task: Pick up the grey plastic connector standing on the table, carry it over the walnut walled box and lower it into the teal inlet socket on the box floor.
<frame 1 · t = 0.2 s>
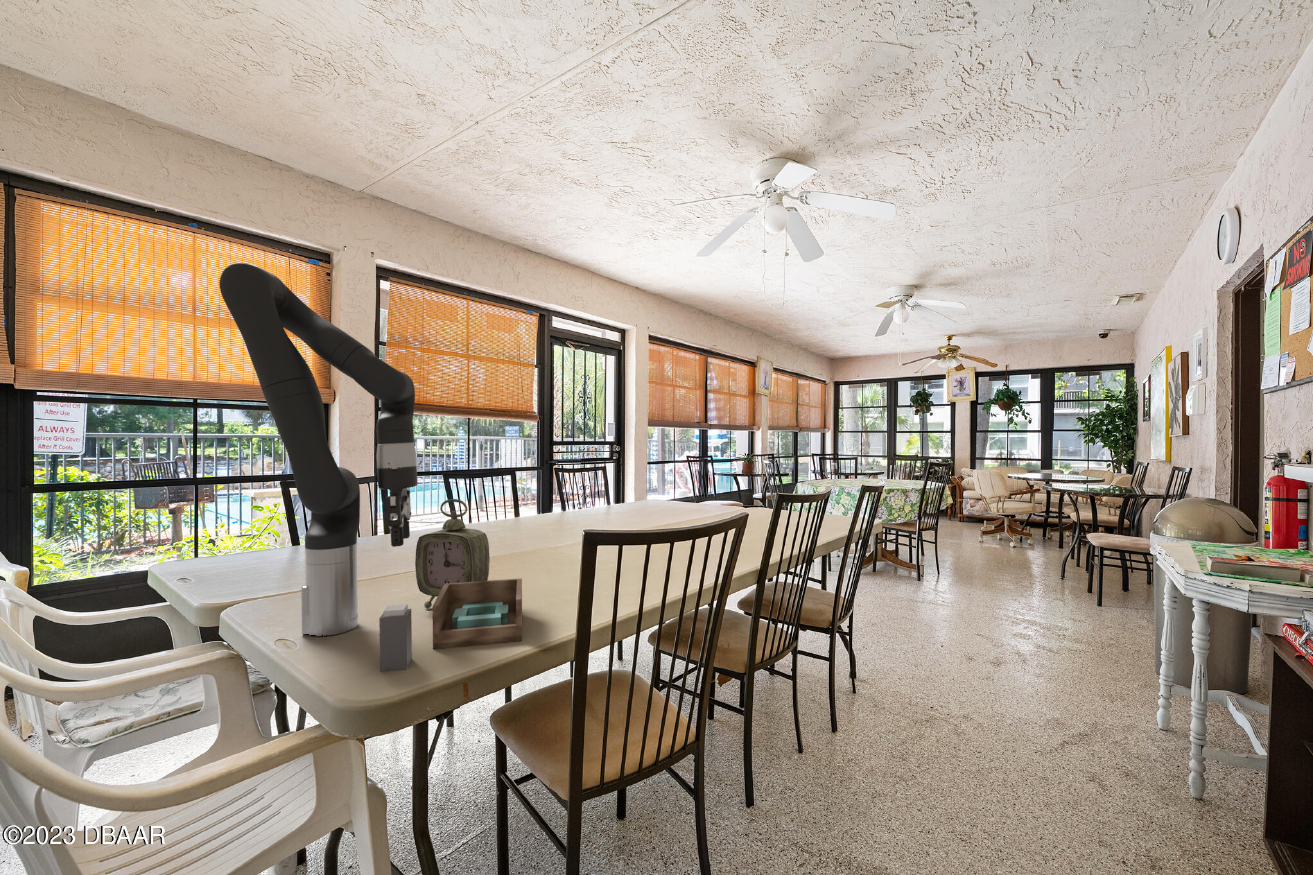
hand: (401, 542, 115), 17 cm above the table, tool pointing down, fingers open, 8 cm apart
walled box: (481, 630, 111), on the table
connector: (396, 665, 95), on the table
tabletop clock: (455, 607, 127), on the table
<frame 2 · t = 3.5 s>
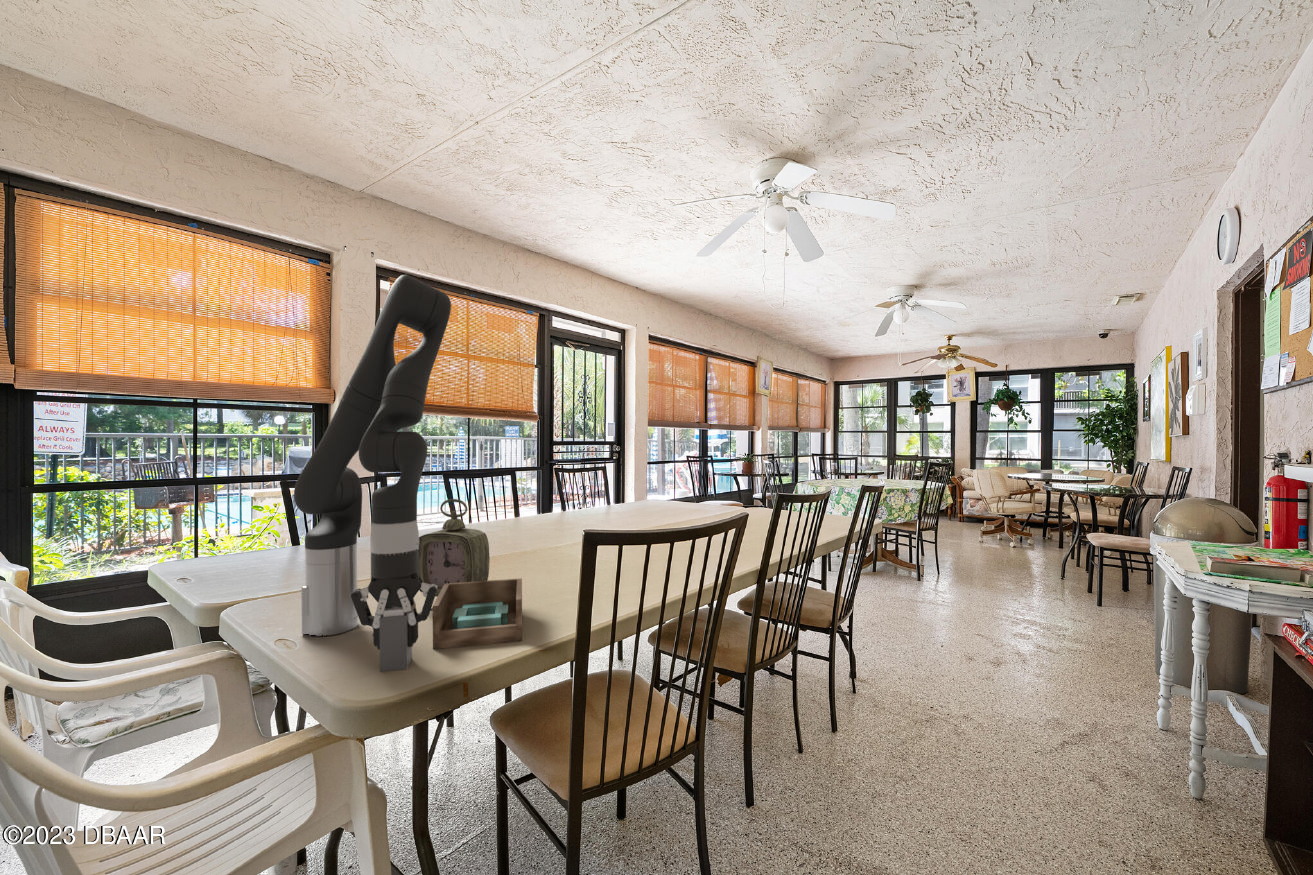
hand: (396, 646, 95), 3 cm above the table, tool pointing down, fingers closed on connector, 4 cm apart
connector: (396, 665, 95), on the table, touching gripper
everything else where it was.
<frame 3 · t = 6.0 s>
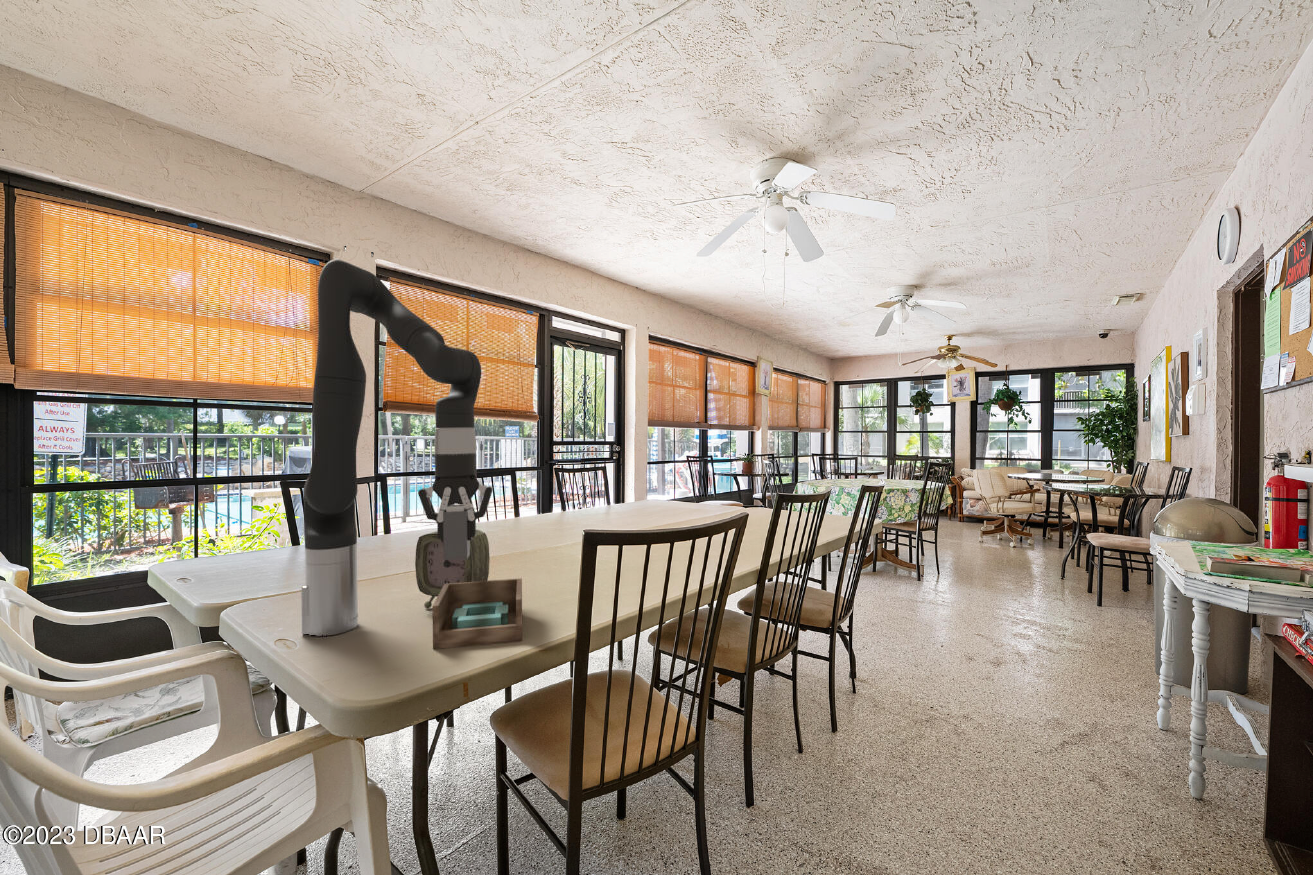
hand: (457, 539, 106), 19 cm above the table, tool pointing down, fingers closed on connector, 4 cm apart
connector: (457, 557, 106), point 16 cm above the table, touching gripper
everything else where it was.
when the fingers open (6 cm above the table, at t = 8.8 s): connector drops 1 cm, resting on walled box.
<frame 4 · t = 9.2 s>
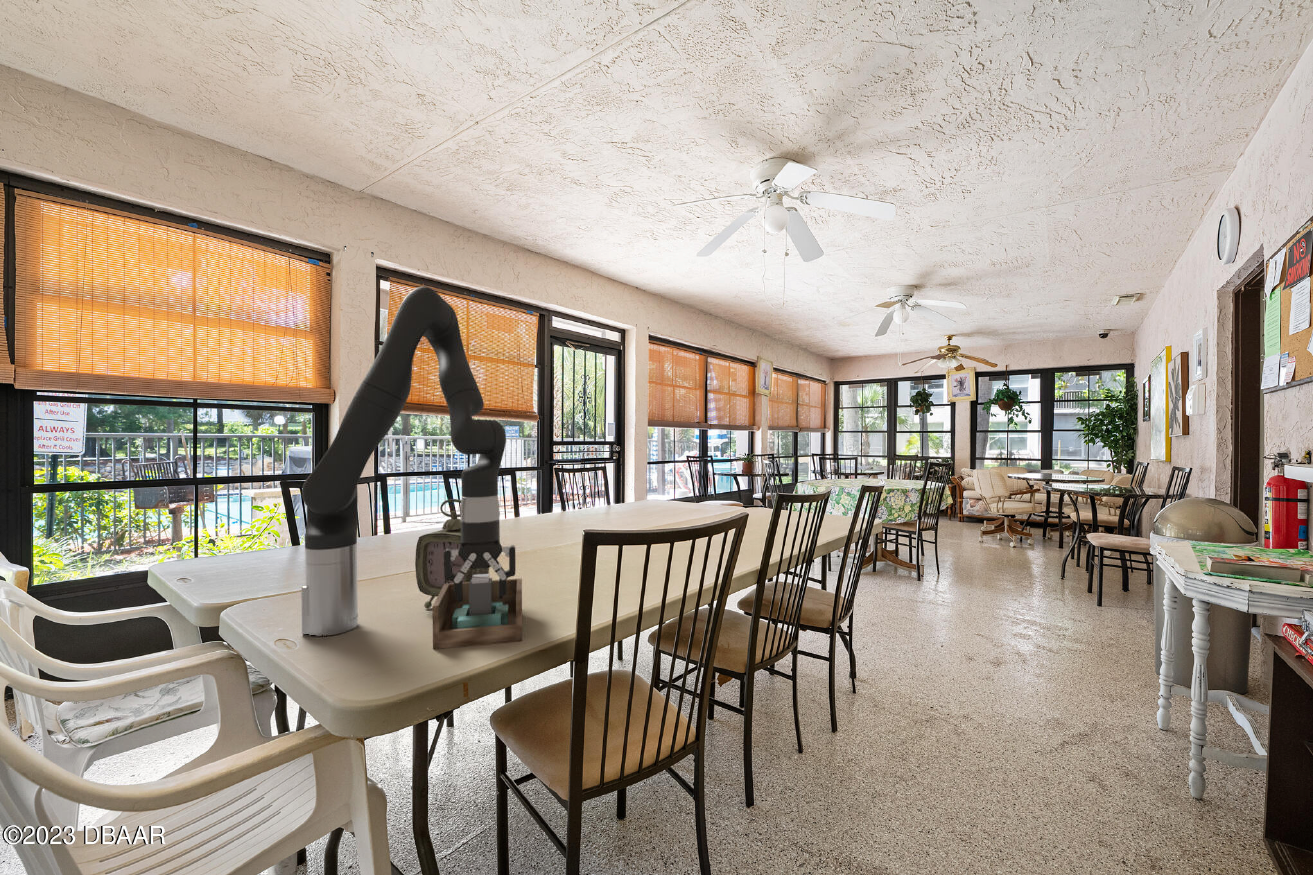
hand: (481, 598, 111), 6 cm above the table, tool pointing down, fingers open, 7 cm apart
connector: (481, 625, 111), point 1 cm above the table, touching walled box
everything else where it was.
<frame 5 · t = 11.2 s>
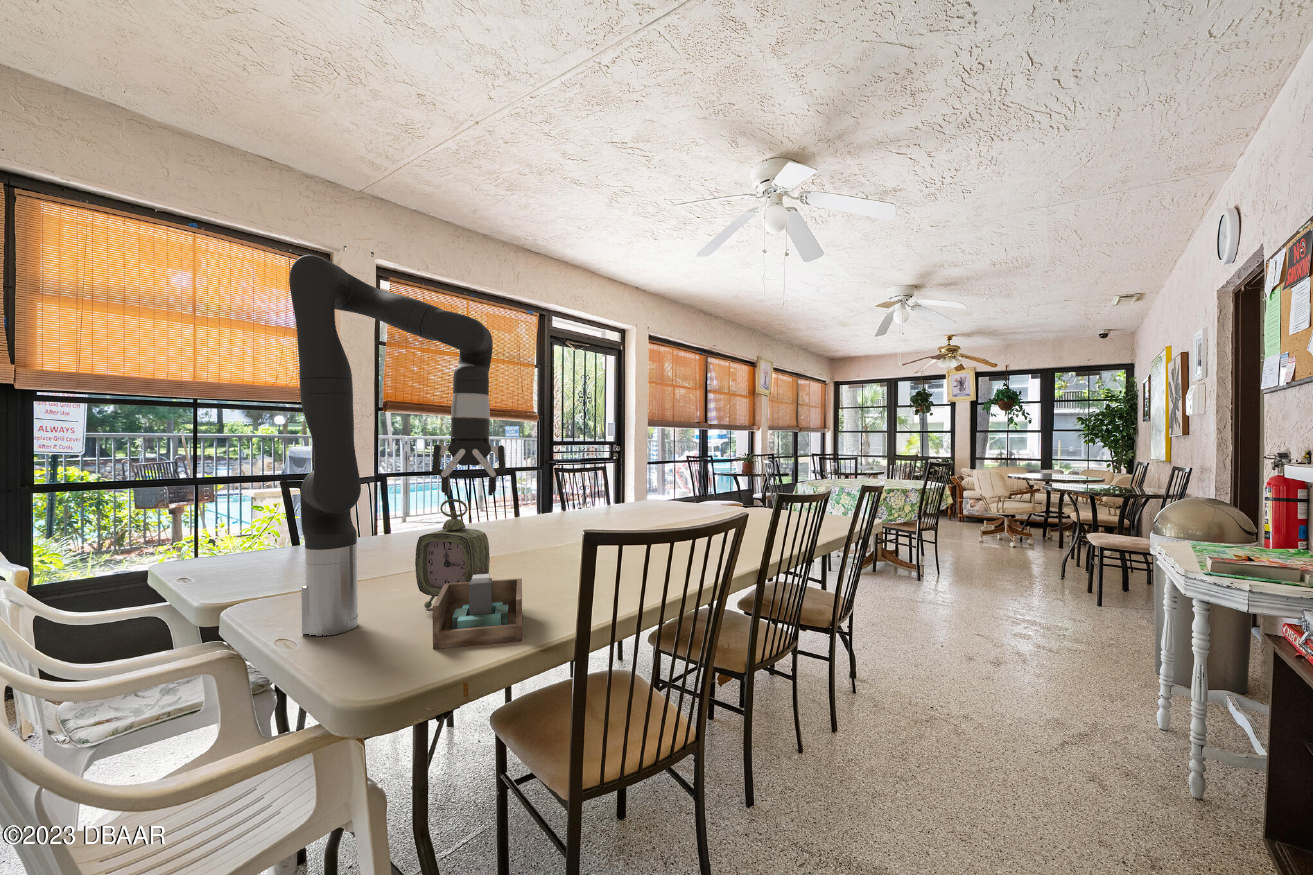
hand: (469, 495, 113), 27 cm above the table, tool pointing down, fingers open, 8 cm apart
nothing on the table moved.
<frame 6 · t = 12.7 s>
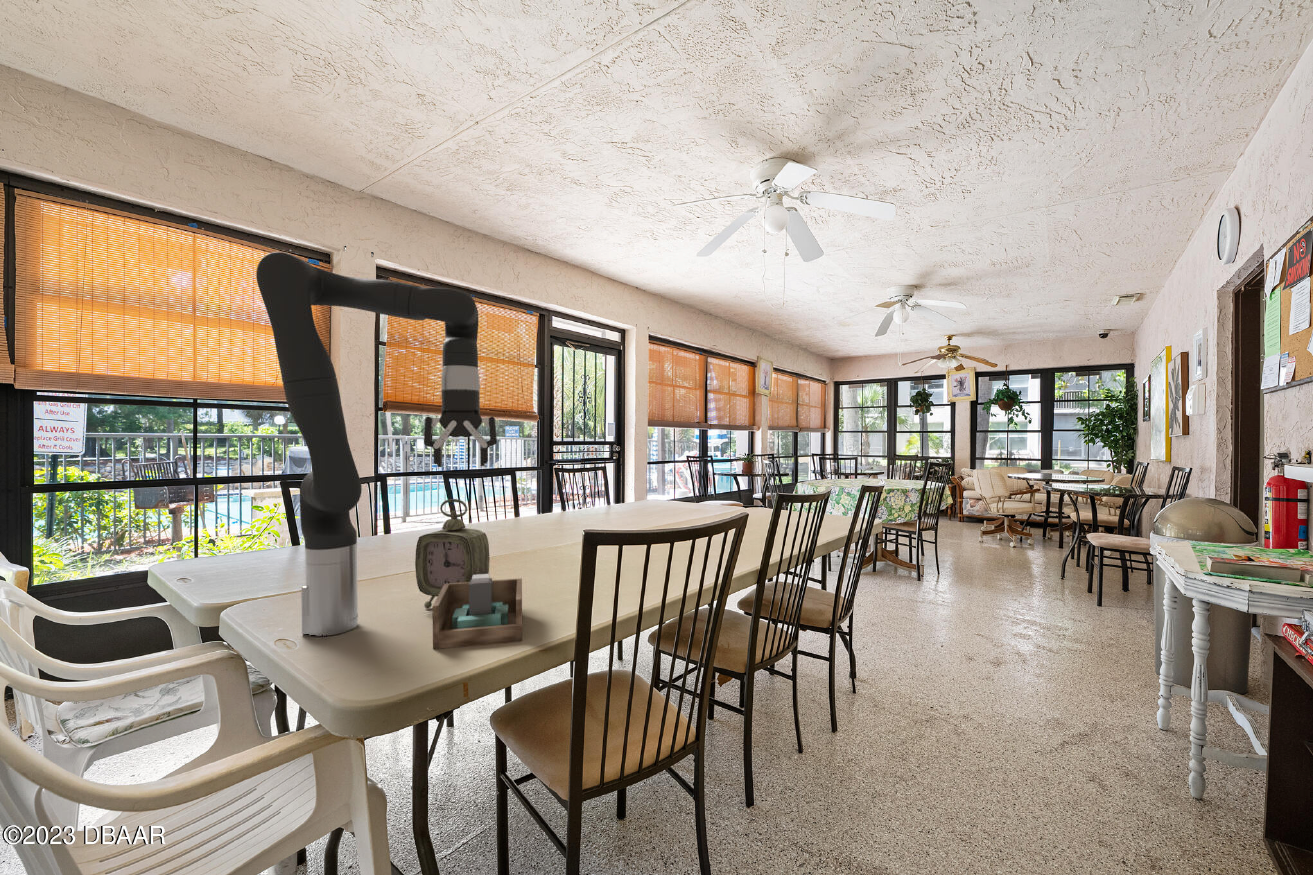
hand: (461, 466, 115), 33 cm above the table, tool pointing down, fingers open, 8 cm apart
nothing on the table moved.
at the end: connector 0.0 cm off-centre on the walled box, point 1.0 cm above the walled box's base; connector tilted 0°; the gripper is holding nothing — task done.
